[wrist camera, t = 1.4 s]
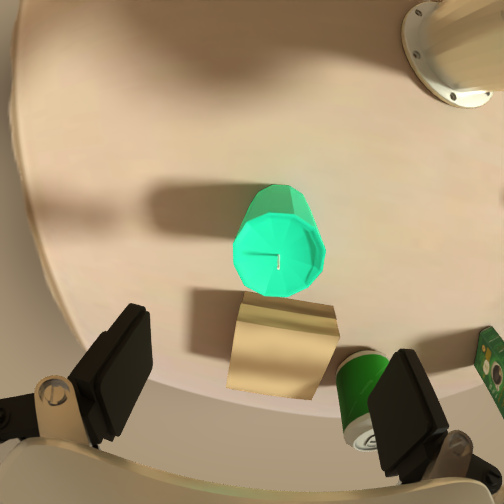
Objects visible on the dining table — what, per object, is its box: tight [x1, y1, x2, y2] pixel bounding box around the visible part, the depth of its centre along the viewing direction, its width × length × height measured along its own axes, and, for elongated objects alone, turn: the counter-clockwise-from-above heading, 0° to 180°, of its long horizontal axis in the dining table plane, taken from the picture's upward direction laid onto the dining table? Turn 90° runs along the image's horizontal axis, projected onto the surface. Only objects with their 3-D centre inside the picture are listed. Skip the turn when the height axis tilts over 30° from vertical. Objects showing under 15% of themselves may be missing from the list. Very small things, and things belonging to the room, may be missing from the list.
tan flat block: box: [242, 291, 337, 320], centre depth 32 cm, size 10×10×3 cm
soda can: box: [335, 350, 389, 452], centre depth 29 cm, size 8×8×12 cm
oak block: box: [226, 303, 340, 400], centre depth 30 cm, size 10×10×3 cm
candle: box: [233, 185, 326, 297], centre depth 22 cm, size 6×6×12 cm
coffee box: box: [474, 326, 504, 419], centre depth 26 cm, size 8×3×13 cm, turn 21°
